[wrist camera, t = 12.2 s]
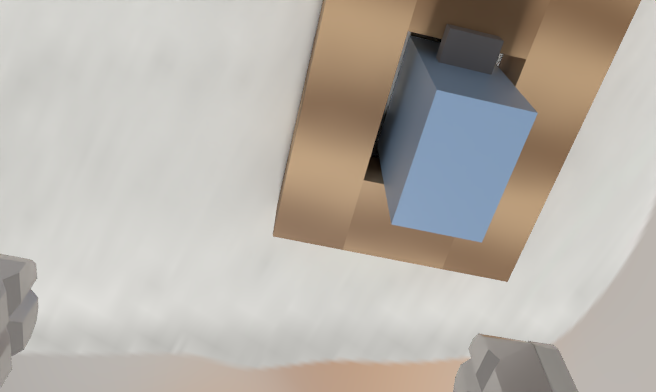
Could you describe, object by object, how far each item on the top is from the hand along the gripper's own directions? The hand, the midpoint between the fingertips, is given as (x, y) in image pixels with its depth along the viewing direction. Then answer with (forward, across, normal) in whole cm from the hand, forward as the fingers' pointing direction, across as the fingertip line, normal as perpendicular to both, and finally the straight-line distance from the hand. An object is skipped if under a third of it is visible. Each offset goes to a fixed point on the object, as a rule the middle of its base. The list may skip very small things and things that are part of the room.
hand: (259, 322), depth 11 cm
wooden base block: (+20, -7, +2) cm, 22 cm away
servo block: (+20, -7, +2) cm, 22 cm away
